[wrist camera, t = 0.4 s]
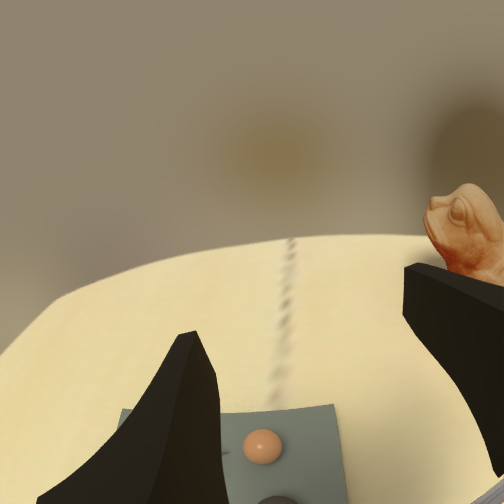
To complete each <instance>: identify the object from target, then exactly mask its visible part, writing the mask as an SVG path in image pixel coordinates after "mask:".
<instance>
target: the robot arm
mask: <svg viewBox="0 0 504 504" xmlns="http://www.w3.org/2000/svg"><path fill="white" fill-rule="evenodd" d="M403 316H404V318H405V319H406V321H407V323H408V324H409V326H410V327H411V329H412V330H413V332H414V333H415V335H416V336H417V337H418V339H419V340H420V341H421V342H422V343H423V345H424V346H425V347H426V348H427V349H428V351H429V352H430V353H431V354H432V355H433V356H434V358H435V359H436V360H437V361H438V362H439V364H440V365H441V366H442V367H443V368H444V370H445V371H446V372H447V373H448V375H449V376H450V377H451V379H452V380H453V381H454V383H455V384H456V386H457V387H458V389H459V391H460V392H461V394H462V396H463V397H464V399H465V401H466V403H467V405H468V406H469V408H470V410H471V412H472V414H473V416H474V418H475V420H476V422H477V425H478V427H479V429H480V432H481V434H482V437H483V439H484V441H485V444H486V447H487V450H488V454H489V457H490V460H491V464H492V468H493V471H494V472H495V474H496V475H497V477H498V478H499V477H501V476H502V475H503V474H504V286H499V285H496V284H492V283H488V282H484V281H481V280H477V279H474V278H471V277H467V276H464V275H461V274H458V273H455V272H451V271H448V270H445V269H442V268H438V267H435V266H431V265H427V264H423V263H415V264H412V265H410V266H407V267H404V297H403ZM502 502H504V479H502V480H501V481H500V482H499V483H497V484H496V485H495V486H494V487H492V488H491V489H490V490H489V491H487V492H486V493H485V494H483V495H482V496H481V497H479V498H478V499H477V500H475V501H474V502H472V503H471V504H501V503H502ZM36 504H229V499H228V495H227V489H226V484H225V478H224V472H223V464H222V449H221V418H220V397H219V390H218V384H217V378H216V373H215V371H214V369H213V367H212V365H211V362H210V360H209V358H208V356H207V354H206V352H205V349H204V347H203V345H202V343H201V340H200V338H199V336H198V334H197V331H192V332H187V333H183V334H179V335H178V336H177V338H176V339H175V341H174V343H173V344H172V346H171V348H170V350H169V352H168V353H167V355H166V357H165V359H164V361H163V362H162V364H161V366H160V368H159V369H158V371H157V373H156V375H155V376H154V378H153V380H152V381H151V383H150V385H149V386H148V388H147V389H146V391H145V392H144V394H143V396H142V397H141V399H140V400H139V402H138V403H137V405H136V406H135V408H134V409H133V410H132V412H131V413H130V414H129V416H128V417H127V418H126V420H125V421H124V422H123V423H122V425H121V426H120V427H119V428H118V430H117V431H116V432H115V433H114V434H113V435H112V436H111V437H110V438H109V439H108V441H107V442H106V443H105V444H104V445H103V446H102V447H101V448H100V449H99V450H98V451H97V452H96V453H95V454H94V455H93V456H92V457H91V458H90V459H89V460H88V461H87V462H85V463H84V464H83V465H82V466H81V467H80V468H79V469H77V470H76V471H75V472H74V473H72V474H71V475H70V476H69V477H67V478H66V479H65V480H63V481H62V482H61V483H59V484H58V485H56V486H55V487H53V488H52V489H50V490H49V491H47V492H46V493H44V494H42V495H41V496H39V497H38V498H37V502H36Z"/></svg>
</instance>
